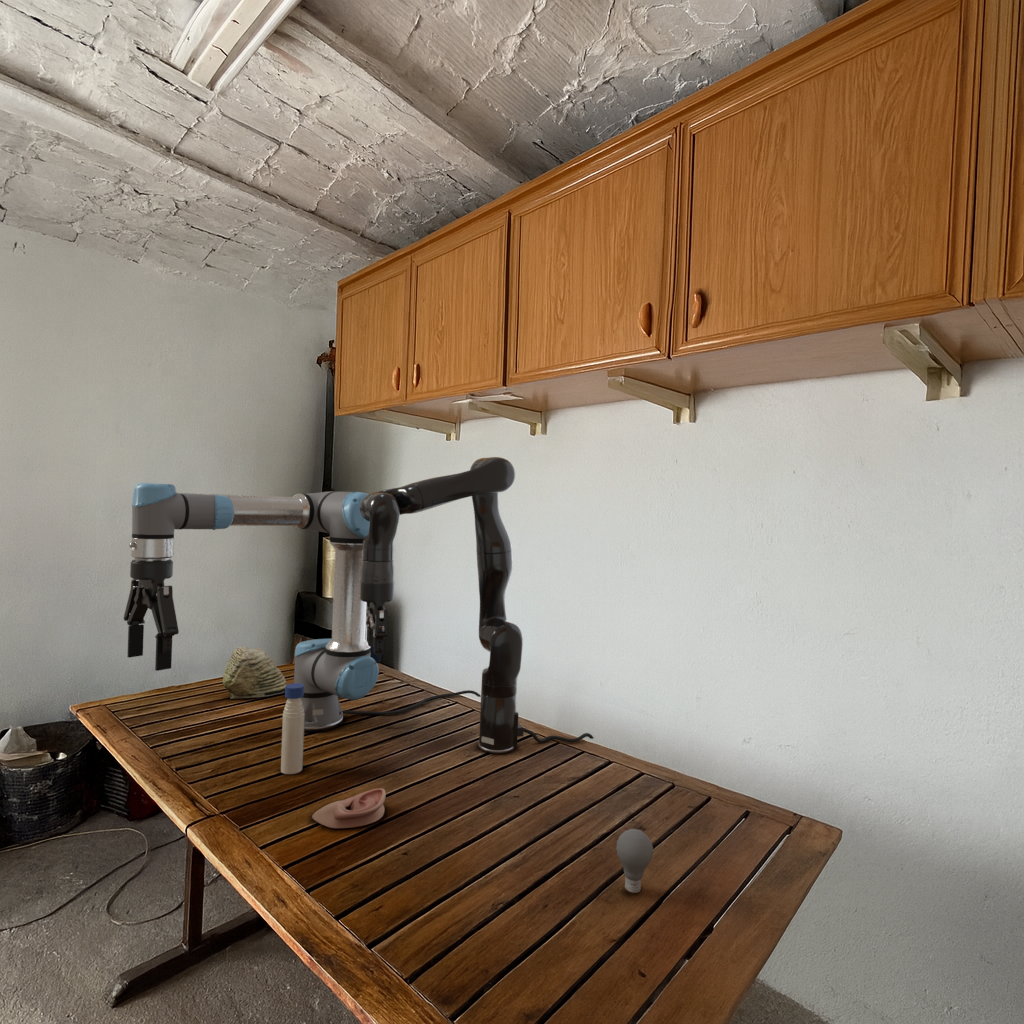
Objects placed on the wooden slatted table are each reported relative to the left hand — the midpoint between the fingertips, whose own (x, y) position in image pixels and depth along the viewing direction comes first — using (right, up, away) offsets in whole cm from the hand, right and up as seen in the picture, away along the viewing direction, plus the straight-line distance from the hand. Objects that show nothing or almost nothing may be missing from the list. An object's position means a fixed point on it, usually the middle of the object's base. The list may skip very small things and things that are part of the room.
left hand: (148, 662), depth 129 cm
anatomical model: (+42, -30, -3) cm, 51 cm away
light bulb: (+94, -33, -24) cm, 103 cm away
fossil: (-6, -27, +69) cm, 74 cm away
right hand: (+43, -1, +16) cm, 46 cm away
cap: (+24, -10, +16) cm, 31 cm away
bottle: (+23, -29, +17) cm, 41 cm away
